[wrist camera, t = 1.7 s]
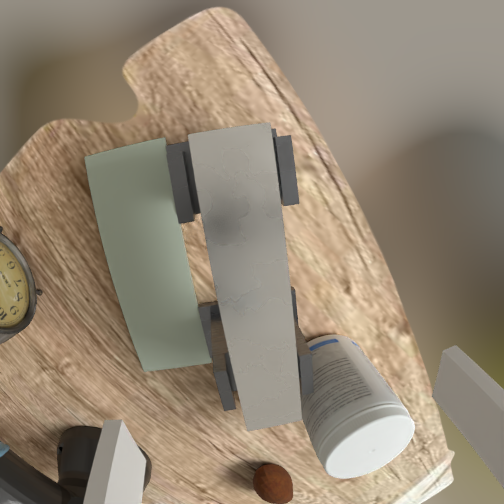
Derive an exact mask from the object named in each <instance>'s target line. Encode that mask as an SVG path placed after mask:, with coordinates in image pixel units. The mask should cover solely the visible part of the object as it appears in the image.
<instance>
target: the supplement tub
mask: <svg viewBox="0 0 504 504" xmlns="http://www.w3.org/2000/svg"><path fill="white" fill-rule="evenodd" d="M307 345H308V347H309V349H310V351H311V353H312V366H313V387H314V393H312V394H308V395H303V396H302V393H301V391H300V398H301V412H302V419H303V422H304V424H305V427H306V430H307V432H308V435H309V437H310V440H311V442H312V445H313V447H314V450H315V452H316V455H317V457H318V459H319V460H320V462H321V464H322V465H323V467H324V469H325V471H326V473H327V474H329V475H330V476H332V477H335V478H354V477H358V476H362V475H365V474H368V473H370V472H373V471H375V470H377V469H379V468H381V467H382V466H384V465H386V464H387V463H389V462H390V461H391V460H393V459H394V458H395V457H396V456H398V455H399V454H400V453H401V452H402V451H403V450H404V448H405V447H406V446H407V445H408V443H409V442H410V440H411V438H412V436H413V434H414V429H415V425H414V422H413V420H412V418H411V417H410V415H409V412H408V411H407V409H406V408H405V406H404V405H403V404H402V402H401V401H400V400H399V398H398V397H397V396H396V394H395V393H394V392H393V390H392V389H391V388H390V386H389V385H388V384H387V383H386V381H385V380H384V379H383V377H382V376H381V375H380V373H379V372H378V371H377V369H376V368H375V367H374V366H373V364H372V363H371V362H370V360H369V359H368V358H367V356H366V355H365V354H364V353H363V351H362V350H361V349H360V347H359V346H358V345H357V344H356V343H355V342H354V341H353V340H352V339H350V338H348V337H346V336H343V335H336V334H333V335H325V336H321V337H318V338H315V339H313V340H311V341H309V342H307Z"/></svg>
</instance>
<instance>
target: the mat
mask: <svg viewBox="0 0 504 504" xmlns="http://www.w3.org/2000/svg"><path fill="white" fill-rule="evenodd" d="M166 146H167V144H166V138H165V137H164V138H159V139H154V140H150V141H145V142H141V143H136V144H132V145H128V146H124V147H120V148H116V149H112V150H108V151H104V152H100V153H97V154H93V155H89V156H86V157H84V158H85V164H86V170H87V175H88V181H89V186H90V191H91V196H92V201H93V206H94V210H95V215H96V219H97V223H98V228H99V232H100V236H101V240H102V244H103V248H104V252H105V255H106V259H107V263H108V266H109V270H110V273H111V277H112V280H113V284H114V287H115V290H116V293H117V297H118V300H119V303H120V306H121V309H122V312H123V315H124V318H125V321H126V324H127V327H128V330H129V333H130V335H131V338H132V341H133V344H134V347H135V349H136V352H137V355H138V357H139V360H140V362H141V365H142V367H143V370H144V372H147V371H155V370H164V369H172V368H180V367H187V366H194V365H201V364H207V363H212V359H211V358H210V355H209V351H208V347H207V343H206V339H205V335H204V331H203V327H202V323H201V319H200V315H199V311H198V302H197V298H196V294H195V289H194V285H193V281H192V276H191V271H190V267H189V262H188V258H187V253H186V248H185V243H184V238H183V233H182V228H181V224H179V223H178V218H177V213H176V208H175V202H174V197H173V191H172V186H171V180H170V174H169V169H168V163H167V157H166V154H167V151H166Z"/></svg>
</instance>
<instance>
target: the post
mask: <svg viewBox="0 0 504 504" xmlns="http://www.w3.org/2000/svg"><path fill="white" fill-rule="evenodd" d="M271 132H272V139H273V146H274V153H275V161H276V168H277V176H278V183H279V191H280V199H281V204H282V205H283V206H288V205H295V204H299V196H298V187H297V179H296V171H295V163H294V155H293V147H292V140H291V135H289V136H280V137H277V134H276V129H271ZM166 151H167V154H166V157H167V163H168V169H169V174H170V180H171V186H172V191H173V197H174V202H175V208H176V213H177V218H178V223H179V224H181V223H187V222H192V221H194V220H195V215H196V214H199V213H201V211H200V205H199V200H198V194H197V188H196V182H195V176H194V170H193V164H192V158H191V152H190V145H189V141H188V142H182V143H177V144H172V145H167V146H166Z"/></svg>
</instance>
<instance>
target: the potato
mask: <svg viewBox="0 0 504 504" xmlns="http://www.w3.org/2000/svg"><path fill="white" fill-rule="evenodd" d="M253 485H254V490H255V491H256V493H257V494H258V495H259V496H260V497H261V498H262V499H263V500H265V501H267V502H269V503H273V504H285V503H288V502H289V501H291V500H292V498H293V488H292V486H293V484H292V479H291V477H290V475H289V474H288V472H287V471H286V470H285V469H284V468H283V467H281V466H279V465H275V464H268V465H263V466H261V467H260V468H258V469H257V470H256V472H255V475H254V479H253Z"/></svg>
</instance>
